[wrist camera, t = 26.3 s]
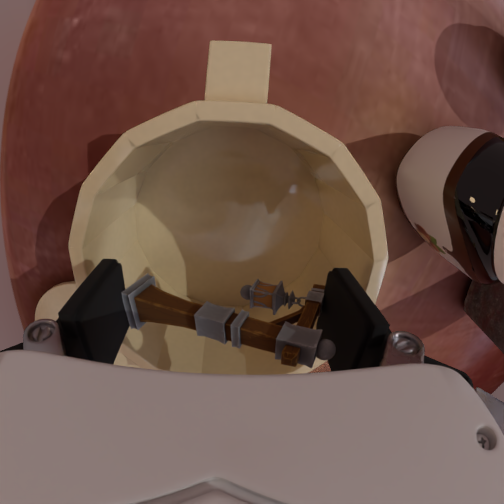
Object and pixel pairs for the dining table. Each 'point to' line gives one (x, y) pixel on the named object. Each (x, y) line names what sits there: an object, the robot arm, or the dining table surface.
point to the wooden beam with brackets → (238, 319)
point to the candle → (487, 310)
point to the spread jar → (458, 198)
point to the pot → (227, 213)
